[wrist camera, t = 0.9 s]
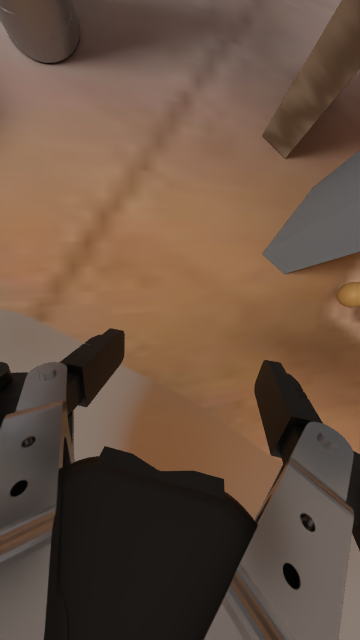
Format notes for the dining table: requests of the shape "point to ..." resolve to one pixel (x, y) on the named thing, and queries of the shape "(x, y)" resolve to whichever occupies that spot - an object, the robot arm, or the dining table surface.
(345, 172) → the grey rectangular box
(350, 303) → the figurine
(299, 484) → the robot arm
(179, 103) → the dining table surface
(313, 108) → the tall wooden block
